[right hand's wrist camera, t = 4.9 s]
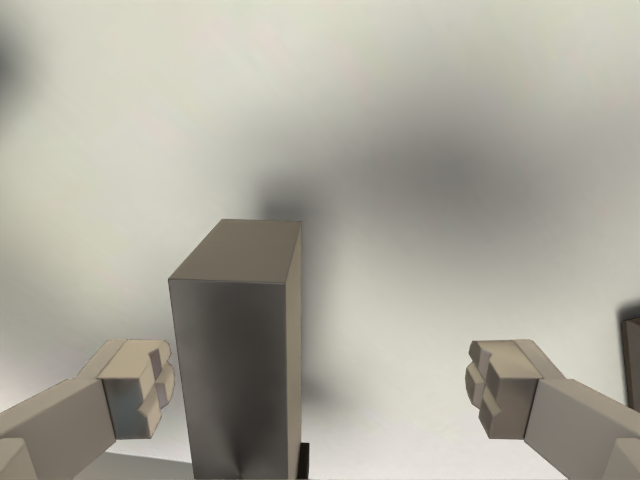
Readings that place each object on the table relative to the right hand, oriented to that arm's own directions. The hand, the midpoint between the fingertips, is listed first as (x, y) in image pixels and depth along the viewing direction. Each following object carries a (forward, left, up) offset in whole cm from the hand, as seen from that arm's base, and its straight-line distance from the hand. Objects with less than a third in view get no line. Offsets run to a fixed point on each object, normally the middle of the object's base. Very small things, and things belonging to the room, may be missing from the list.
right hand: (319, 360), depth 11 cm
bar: (+11, +10, -17) cm, 23 cm away
